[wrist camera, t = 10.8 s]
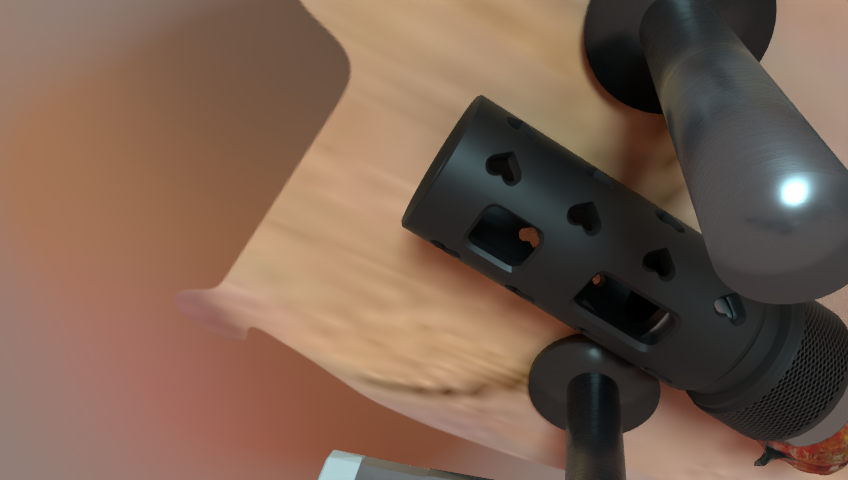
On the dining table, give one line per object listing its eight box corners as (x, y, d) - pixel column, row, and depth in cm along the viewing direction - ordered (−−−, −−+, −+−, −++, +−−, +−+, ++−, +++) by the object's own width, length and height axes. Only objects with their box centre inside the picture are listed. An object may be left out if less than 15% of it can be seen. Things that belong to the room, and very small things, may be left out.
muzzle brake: (492, 65, 40) (470, 126, 32) (843, 289, 43) (909, 401, 35) (419, 178, 45) (382, 257, 37) (737, 372, 49) (772, 486, 40)
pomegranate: (807, 315, 47) (707, 392, 45) (913, 368, 41) (804, 459, 39) (810, 382, 51) (718, 456, 49) (907, 439, 45) (807, 526, 43)
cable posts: (797, -68, 33) (1129, 69, 13) (644, 436, 54) (684, 792, 34) (600, -78, 35) (632, 30, 15) (523, 416, 55) (492, 744, 35)
